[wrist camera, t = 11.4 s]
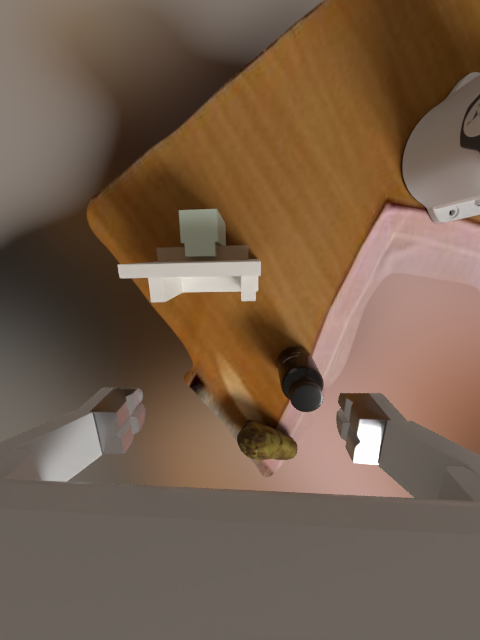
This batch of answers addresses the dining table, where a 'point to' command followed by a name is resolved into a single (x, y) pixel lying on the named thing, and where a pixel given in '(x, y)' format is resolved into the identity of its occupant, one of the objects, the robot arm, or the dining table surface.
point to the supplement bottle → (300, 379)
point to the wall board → (198, 273)
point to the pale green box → (202, 232)
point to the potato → (265, 442)
